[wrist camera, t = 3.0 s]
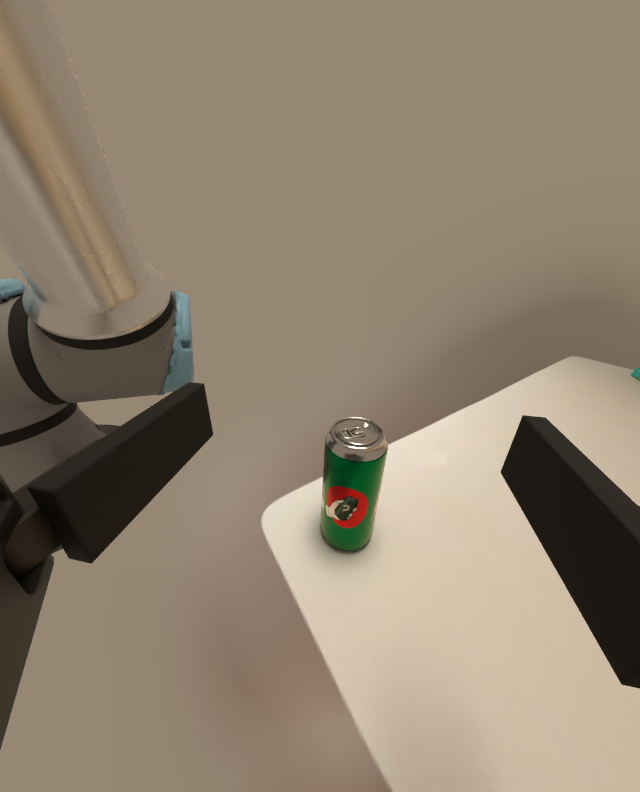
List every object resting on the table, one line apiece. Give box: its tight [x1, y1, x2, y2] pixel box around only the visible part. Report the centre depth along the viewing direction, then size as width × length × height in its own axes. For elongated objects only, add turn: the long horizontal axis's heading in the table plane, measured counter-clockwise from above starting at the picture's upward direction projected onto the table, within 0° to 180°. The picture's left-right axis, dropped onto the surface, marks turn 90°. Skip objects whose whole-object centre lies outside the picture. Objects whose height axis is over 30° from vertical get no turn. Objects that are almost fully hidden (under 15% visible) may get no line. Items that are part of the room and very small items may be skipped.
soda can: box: [321, 417, 388, 550], centre depth 25 cm, size 5×5×12 cm
